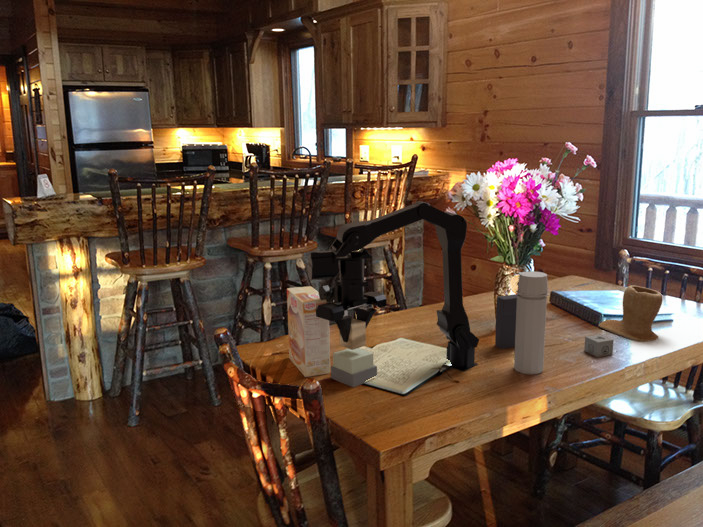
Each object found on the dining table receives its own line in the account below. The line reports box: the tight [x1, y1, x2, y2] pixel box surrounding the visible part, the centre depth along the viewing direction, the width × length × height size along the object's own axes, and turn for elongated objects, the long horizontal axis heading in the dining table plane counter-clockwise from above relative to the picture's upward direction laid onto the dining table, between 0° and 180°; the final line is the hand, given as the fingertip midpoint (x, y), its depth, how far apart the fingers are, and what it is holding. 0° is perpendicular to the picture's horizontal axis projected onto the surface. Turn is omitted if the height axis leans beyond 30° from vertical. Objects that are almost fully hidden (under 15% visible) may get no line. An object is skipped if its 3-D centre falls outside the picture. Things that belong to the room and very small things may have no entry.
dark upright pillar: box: [494, 293, 518, 350], centre depth 177 cm, size 11×4×15 cm, turn 110°
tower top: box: [332, 347, 374, 374], centre depth 157 cm, size 7×7×4 cm
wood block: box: [338, 317, 367, 350], centre depth 156 cm, size 4×4×6 cm
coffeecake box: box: [286, 285, 331, 378], centre depth 165 cm, size 15×7×20 cm, turn 21°
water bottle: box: [513, 270, 550, 375], centre depth 159 cm, size 9×8×25 cm
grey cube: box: [583, 333, 614, 358], centre depth 171 cm, size 5×5×5 cm
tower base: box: [330, 364, 378, 388], centre depth 158 cm, size 8×8×4 cm
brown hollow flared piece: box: [598, 285, 664, 343], centre depth 185 cm, size 15×12×15 cm
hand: (352, 339), depth 156 cm, fingers closed on wood block, 4 cm apart
